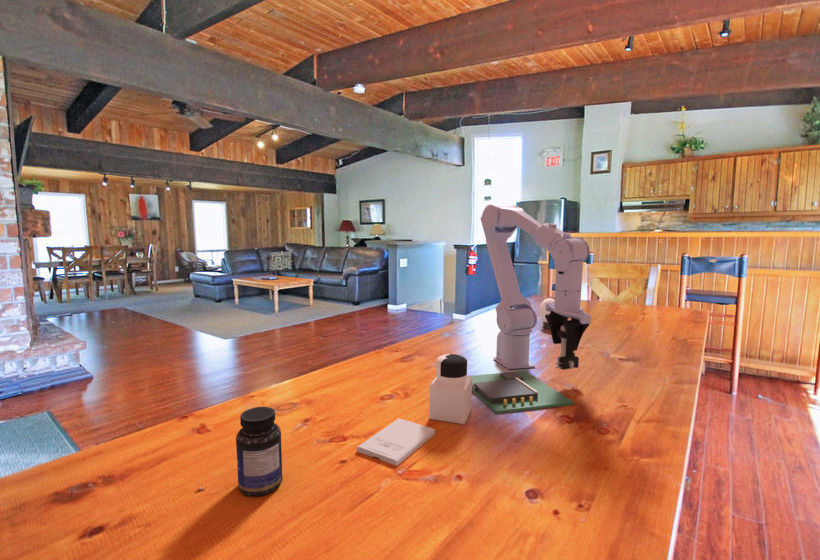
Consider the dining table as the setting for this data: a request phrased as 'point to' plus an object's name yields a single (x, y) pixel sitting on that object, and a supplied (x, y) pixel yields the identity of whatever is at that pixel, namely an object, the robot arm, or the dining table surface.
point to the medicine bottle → (450, 390)
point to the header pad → (505, 390)
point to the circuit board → (545, 397)
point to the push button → (566, 353)
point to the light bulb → (544, 312)
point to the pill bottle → (259, 452)
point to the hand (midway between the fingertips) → (564, 346)
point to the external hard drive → (396, 441)
